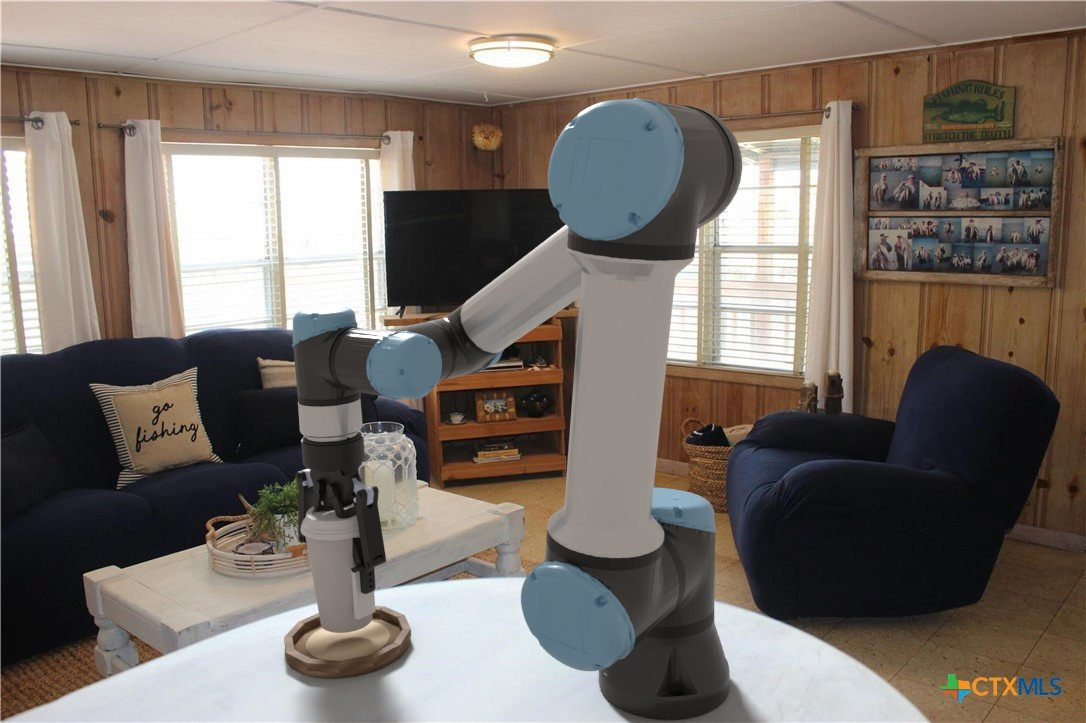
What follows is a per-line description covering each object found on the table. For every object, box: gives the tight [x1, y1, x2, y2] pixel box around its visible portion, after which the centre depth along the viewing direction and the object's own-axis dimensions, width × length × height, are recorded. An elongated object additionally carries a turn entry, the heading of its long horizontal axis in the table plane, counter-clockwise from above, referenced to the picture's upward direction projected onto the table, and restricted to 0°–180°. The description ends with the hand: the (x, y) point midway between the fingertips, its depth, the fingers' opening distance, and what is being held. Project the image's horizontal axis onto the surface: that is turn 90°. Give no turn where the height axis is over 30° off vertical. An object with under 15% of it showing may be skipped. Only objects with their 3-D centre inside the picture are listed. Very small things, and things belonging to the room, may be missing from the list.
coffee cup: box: [301, 503, 372, 633], centre depth 114 cm, size 10×10×15 cm
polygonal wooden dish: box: [283, 605, 412, 680], centre depth 116 cm, size 16×16×2 cm
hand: (344, 605), depth 115 cm, fingers closed on coffee cup, 7 cm apart
